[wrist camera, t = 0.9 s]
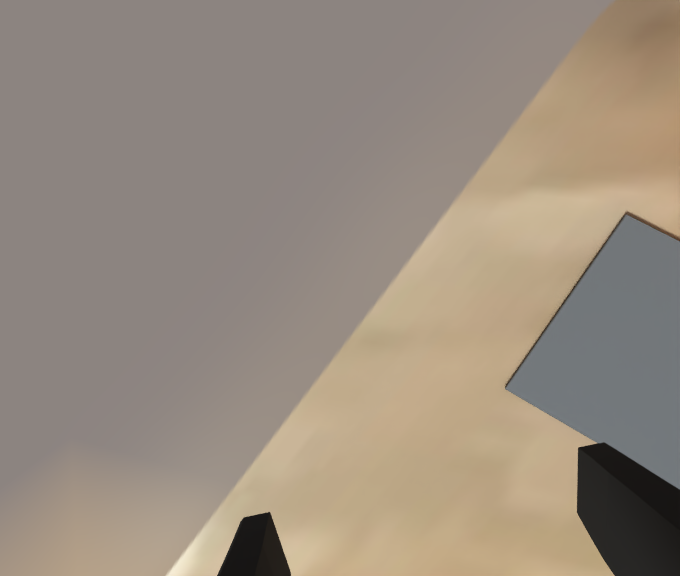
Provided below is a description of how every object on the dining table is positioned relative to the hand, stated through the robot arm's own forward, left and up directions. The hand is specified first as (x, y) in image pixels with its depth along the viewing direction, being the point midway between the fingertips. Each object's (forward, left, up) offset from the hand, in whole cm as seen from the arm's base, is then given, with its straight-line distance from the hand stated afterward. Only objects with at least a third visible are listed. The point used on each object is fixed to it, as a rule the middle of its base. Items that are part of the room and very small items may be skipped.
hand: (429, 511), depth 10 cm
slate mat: (-11, -5, -18) cm, 22 cm away
